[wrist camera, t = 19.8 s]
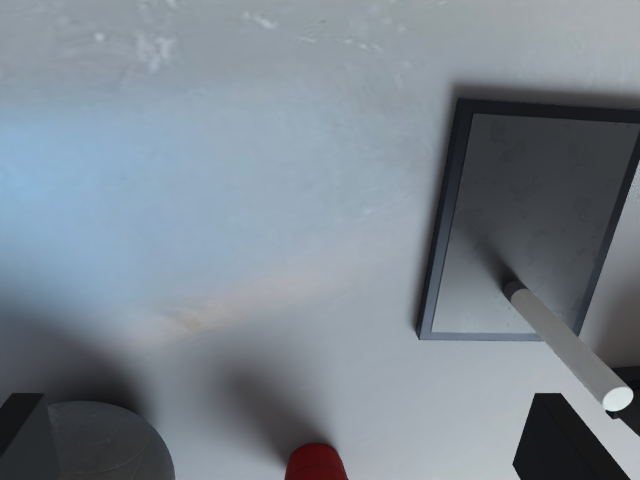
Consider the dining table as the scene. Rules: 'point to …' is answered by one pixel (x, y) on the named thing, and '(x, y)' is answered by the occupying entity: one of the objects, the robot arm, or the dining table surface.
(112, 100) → the dining table surface
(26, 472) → the robot arm
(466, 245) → the tablet
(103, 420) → the bowl
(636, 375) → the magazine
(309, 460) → the plastic cup
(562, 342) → the stylus
